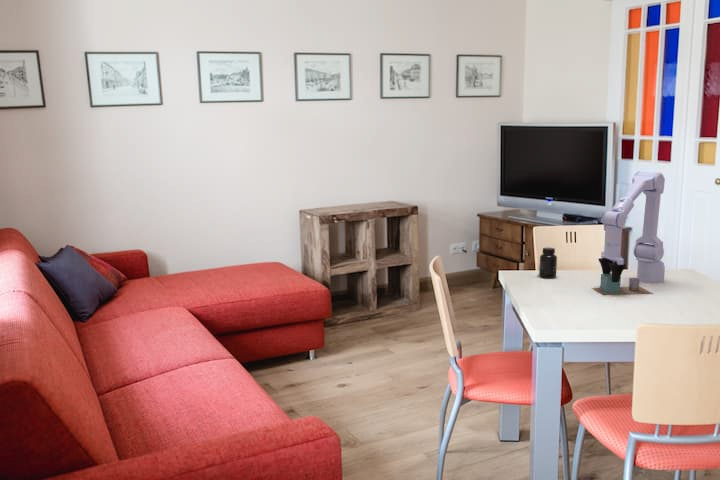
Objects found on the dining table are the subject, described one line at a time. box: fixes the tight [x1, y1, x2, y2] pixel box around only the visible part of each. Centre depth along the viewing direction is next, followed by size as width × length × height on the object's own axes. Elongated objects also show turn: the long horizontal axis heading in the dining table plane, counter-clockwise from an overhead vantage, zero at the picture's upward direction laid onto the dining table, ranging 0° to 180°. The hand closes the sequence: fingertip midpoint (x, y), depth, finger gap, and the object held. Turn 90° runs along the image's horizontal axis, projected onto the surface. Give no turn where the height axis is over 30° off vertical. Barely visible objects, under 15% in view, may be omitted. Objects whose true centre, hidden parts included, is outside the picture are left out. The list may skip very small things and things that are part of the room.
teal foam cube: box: [599, 273, 622, 293], centre depth 247 cm, size 5×5×6 cm
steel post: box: [628, 277, 640, 291], centre depth 247 cm, size 3×3×5 cm
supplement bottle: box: [538, 247, 558, 279], centre depth 273 cm, size 7×7×12 cm
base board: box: [591, 285, 654, 296], centre depth 248 cm, size 19×11×1 cm, turn 94°
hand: (610, 279), depth 247 cm, fingers open, 7 cm apart
